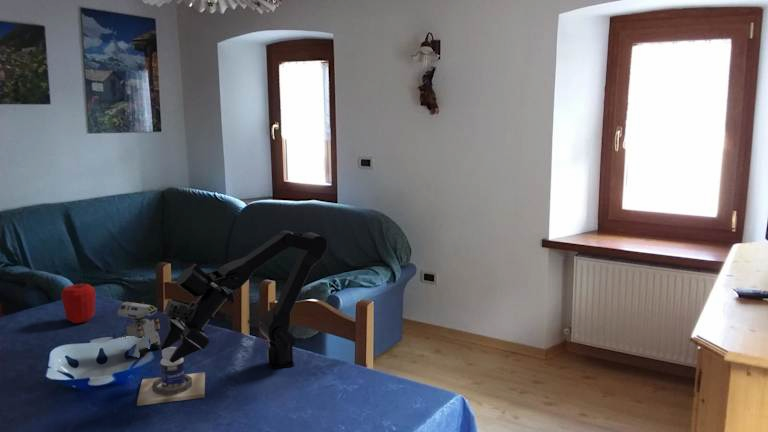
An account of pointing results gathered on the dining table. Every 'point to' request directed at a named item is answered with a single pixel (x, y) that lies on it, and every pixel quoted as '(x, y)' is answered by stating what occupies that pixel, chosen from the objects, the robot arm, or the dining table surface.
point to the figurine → (141, 322)
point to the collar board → (171, 390)
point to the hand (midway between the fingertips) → (166, 355)
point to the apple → (78, 302)
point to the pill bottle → (171, 370)
